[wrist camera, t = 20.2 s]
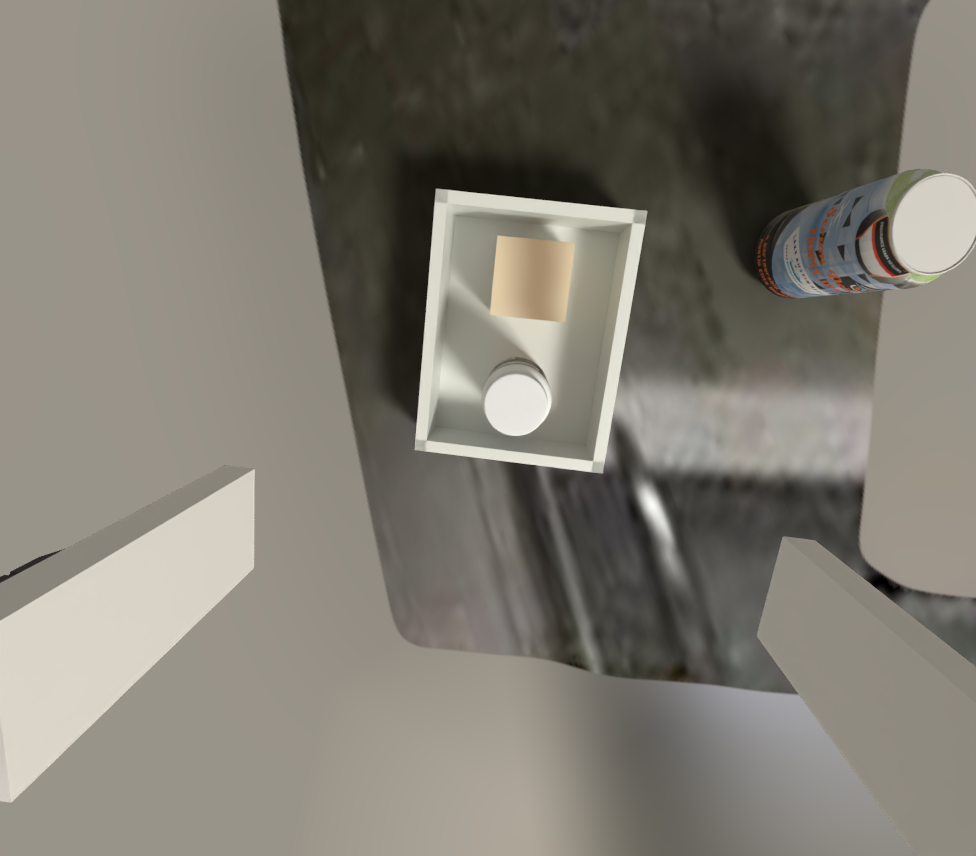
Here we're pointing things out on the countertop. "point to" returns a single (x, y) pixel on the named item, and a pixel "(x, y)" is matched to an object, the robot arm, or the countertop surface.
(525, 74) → the countertop surface
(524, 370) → the pill bottle
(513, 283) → the cube
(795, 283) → the beverage can
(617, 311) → the tote
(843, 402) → the countertop surface
